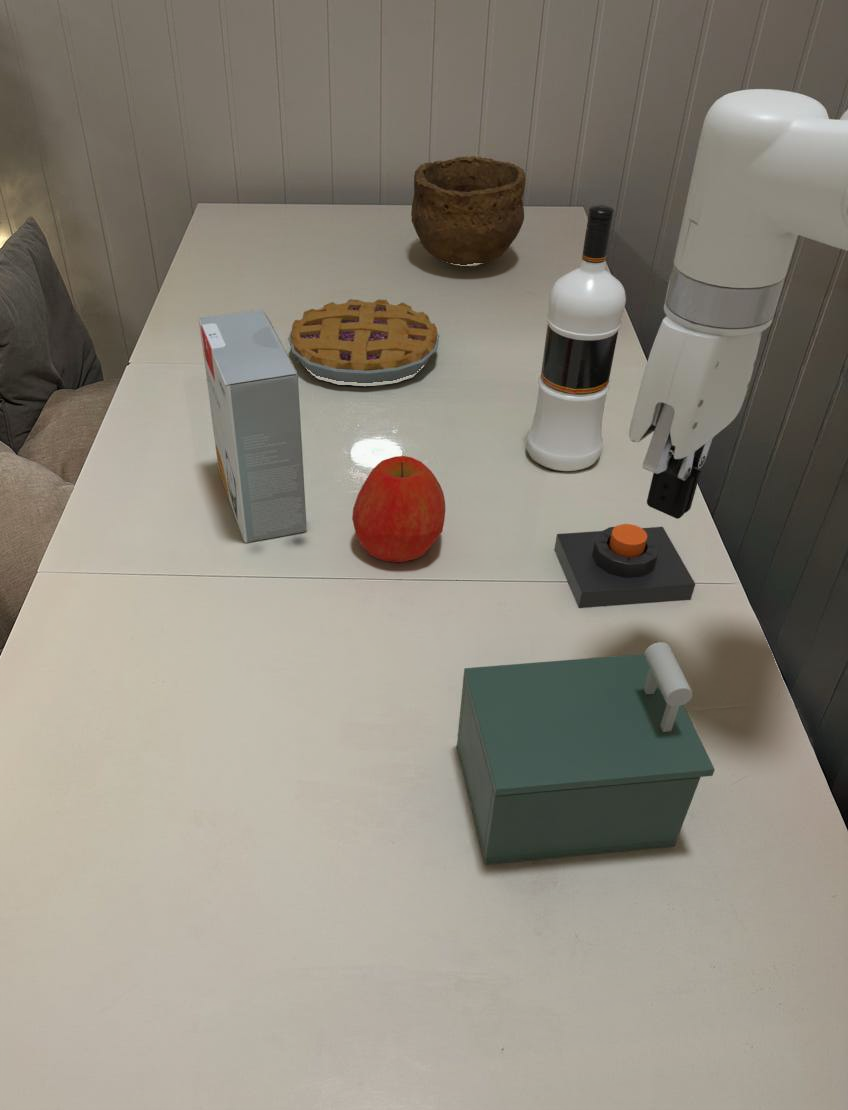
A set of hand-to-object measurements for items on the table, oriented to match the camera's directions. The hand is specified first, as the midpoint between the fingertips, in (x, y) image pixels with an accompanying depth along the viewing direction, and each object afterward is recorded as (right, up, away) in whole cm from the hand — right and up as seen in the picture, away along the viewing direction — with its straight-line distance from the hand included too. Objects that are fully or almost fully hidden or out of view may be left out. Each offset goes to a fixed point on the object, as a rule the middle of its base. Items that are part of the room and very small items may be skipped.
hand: (667, 508), depth 79 cm
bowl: (-9, +54, +85) cm, 101 cm away
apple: (-22, 0, +27) cm, 34 cm away
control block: (+2, -4, +23) cm, 23 cm away
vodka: (-1, +12, +40) cm, 42 cm away
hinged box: (-9, -24, +1) cm, 26 cm away
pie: (-26, +30, +60) cm, 72 cm away
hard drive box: (-38, +5, +33) cm, 50 cm away
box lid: (-8, -18, -5) cm, 20 cm away
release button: (+2, -1, +20) cm, 20 cm away
